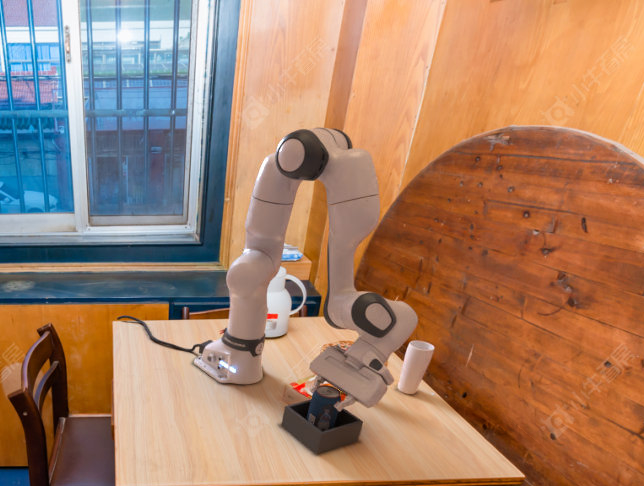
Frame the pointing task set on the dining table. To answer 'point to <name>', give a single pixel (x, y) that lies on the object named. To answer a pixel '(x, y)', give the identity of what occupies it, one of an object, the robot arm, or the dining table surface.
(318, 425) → the soda can
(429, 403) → the dining table surface
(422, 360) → the white tall cylinder
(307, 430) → the tub
